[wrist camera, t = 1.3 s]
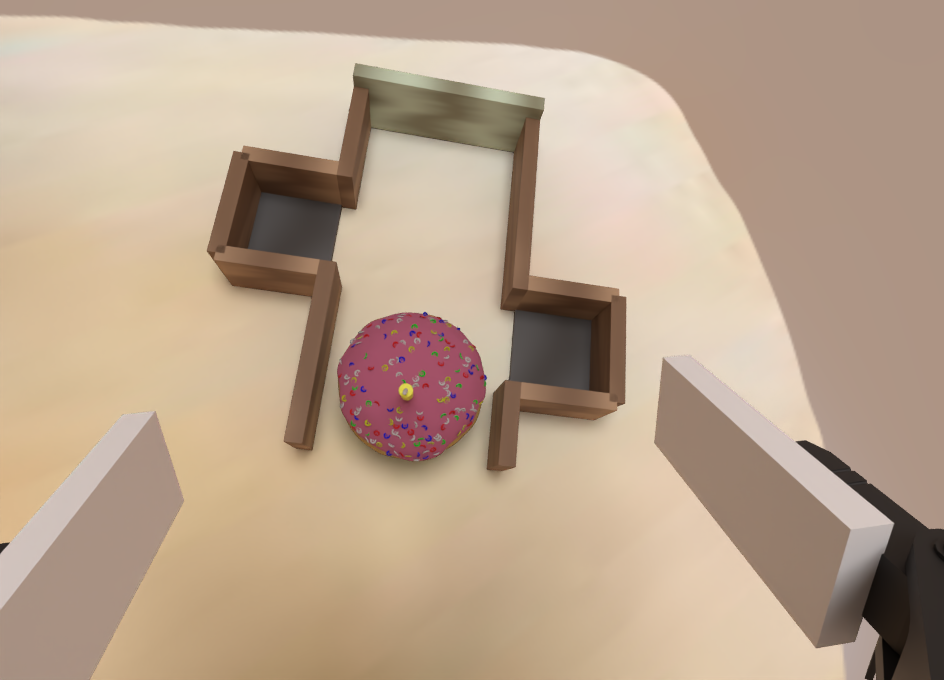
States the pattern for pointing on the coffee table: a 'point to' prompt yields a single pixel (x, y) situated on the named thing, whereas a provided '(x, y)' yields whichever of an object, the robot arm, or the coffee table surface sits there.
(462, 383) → the cupcake
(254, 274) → the trap lane
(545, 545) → the coffee table surface
